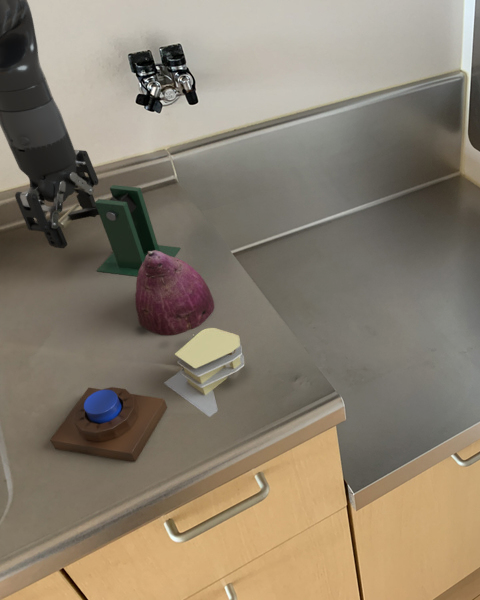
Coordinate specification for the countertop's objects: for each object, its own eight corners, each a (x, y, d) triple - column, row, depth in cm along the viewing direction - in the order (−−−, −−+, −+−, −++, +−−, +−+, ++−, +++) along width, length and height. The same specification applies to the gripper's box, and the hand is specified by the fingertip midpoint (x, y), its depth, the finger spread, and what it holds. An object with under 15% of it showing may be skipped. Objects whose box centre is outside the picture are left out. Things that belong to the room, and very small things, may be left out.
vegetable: (205, 354, 87) (188, 296, 74) (132, 344, 86) (102, 283, 74) (224, 294, 92) (212, 230, 80) (156, 284, 92) (132, 218, 80)
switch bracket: (98, 276, 94) (70, 206, 86) (125, 246, 100) (100, 177, 92) (159, 284, 93) (136, 213, 85) (182, 253, 99) (163, 184, 91)
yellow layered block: (209, 417, 74) (200, 387, 71) (163, 383, 78) (152, 353, 75) (269, 369, 80) (264, 339, 77) (224, 339, 84) (216, 310, 81)
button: (82, 421, 70) (77, 411, 69) (99, 397, 73) (94, 387, 71) (111, 425, 69) (106, 416, 68) (127, 401, 72) (123, 391, 71)
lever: (61, 232, 92) (51, 219, 90) (79, 214, 96) (70, 201, 94) (125, 220, 88) (115, 206, 87) (141, 201, 92) (133, 188, 90)
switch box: (55, 448, 71) (43, 430, 68) (92, 396, 77) (83, 377, 74) (135, 462, 69) (126, 443, 67) (167, 407, 75) (160, 389, 73)
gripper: (43, 109, 90) (79, 203, 100) (-24, 154, 79) (25, 255, 90) (90, 113, 89) (122, 208, 99) (29, 160, 78) (72, 261, 89)
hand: (76, 230), depth 94 cm, fingers open, 8 cm apart
